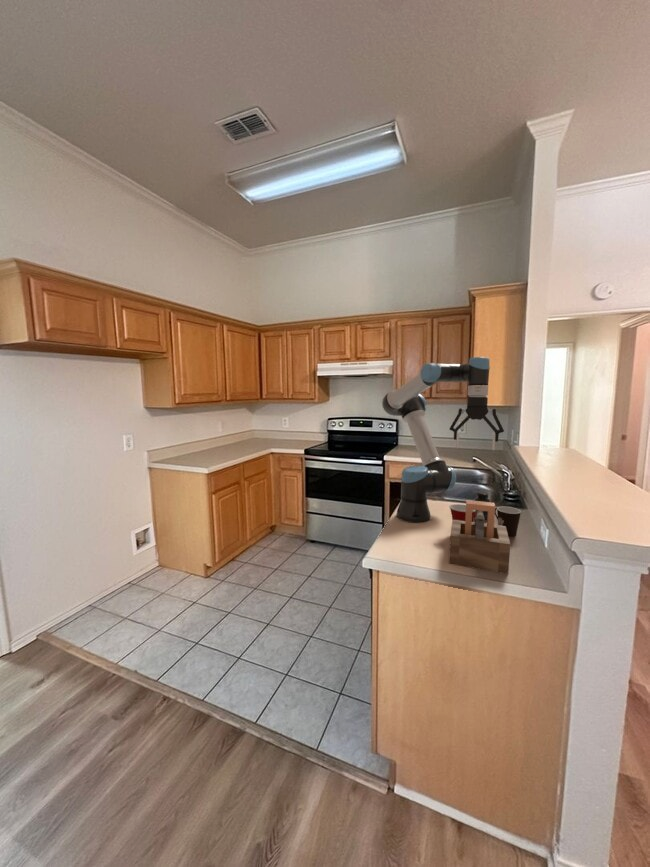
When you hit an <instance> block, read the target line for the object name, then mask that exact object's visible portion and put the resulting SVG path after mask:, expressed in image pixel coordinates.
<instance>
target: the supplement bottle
mask: <svg viewBox="0 0 650 867" xmlns="http://www.w3.org/2000/svg"><path fill="white" fill-rule="evenodd" d="M476 492H477V493H476V497H475V498H473V499H474V500H473V501H481V502H491V499H489V497H490V496H489V492H488V491H482V490H480V491H476ZM491 503H492V502H491ZM487 512H488V511H483V516H484V521H487Z"/></svg>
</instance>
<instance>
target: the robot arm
mask: <svg viewBox="0 0 650 867" xmlns="http://www.w3.org/2000/svg"><path fill="white" fill-rule="evenodd" d="M490 366H491V365H490V358H489V357H487V356H474V357H471V358H469V360H468V363H438V362H437V363H436V362H429V363H425V364H423V365H422V368H421V369H420V372H419V373H418V374H417V375H415V376H414V377H413V378H411V379H410V380H408V381H407V382H405V383H404V384H402V385H401V386H399V387H398V388H397V389H394V390H389V391H388V393H386V394H385V395H384V396H383V399H382V401H381V404H382V408H383V411H384V412H386V414H388V415H389V416H392V417H401V419H402V421H403V422H404V423H406V424H407V426H408V429H409V431H410V433H411V436H412V439H413V441H414V445H415V448H416V450H417V452H418V454H419V458H420V460H421V463H422V465H409V466H406V467H405V468H403V470H402V471H401V478H400V480H401V482H400V483H401V484H400V485H401V486H400V502H399V504H398V507H397V510H396V518H397V519H399V520H401V521H404V522H405V523H414V524H421V523H426V522H429V521H430V520H431V511H430V508H429V504H428V494H436V493H437V494H438V493H445V492H448V491H451V490H453V489H454V487H455V486H456V482H457V475H456V474H457V472H456V471H455V469H454V468H453V467H451V466H450V465H447V464H446V461H445V460H444V459H442V458H441V457H440V455H439V452H438V449H437V447H436V444H435V442H434V440H433V438H432V435H431V433H430V430H429V427H428V425H427V423H426V419H425V415H426V410H427V402H426V398H425V397H424V396H423V395H422V394H421V393H423V392H424V391H426V390H428V389H430V388H431V387H432V386H434V385H436V384H438V383H464V382H465V383H467V400H466V404H467V405H466V408H462V407H459V409H458V412H457V415H456V416H455V417H454V420H453V422H452V424H451V425H450V427H449V431H451V432H453V440H455V441H456V443H455V445H456V446H455V448H456V449H459V442H460V440H459V439H460V431H459V430H460V429H461V428H462V427H463V426H464V425H465V424H466V423H467V422H468V421H469V420H470V419H471V420H478V421H480V420H483V421H484V422H485V423H486V424H487V425H488V426H489V427H490V428H491V430H493V432H492V445H491V446H492V448H491V450H492V451H496V450H495V449H496V448H495V447H496V442H498V441H499V435H500V434H501V433H504V432H505V429H504V427H503V426H502V423H501V422H500V420H499V416H498V415H497V411H496V409H495V408H490V409H488V400H489V398H488V397H487V396H488V395H489V378H490V370H491V369H490V368H491V367H490ZM464 413H466V414H467V415H466V417H464V419H463V420H462V421H461V422H460V423H459V424H458V425H457V426H456V424H457V422H458V421H459V420H460V417H461V415H463V414H464ZM488 414H490V415H492V418H493V419H494V421H495V423H496V425H497V427H498V429H497V428H496V426H495V425H494V423H492V421H490V420H489V418H488V417H487V416H486V415H488ZM455 426H456V427H455Z"/></svg>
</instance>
